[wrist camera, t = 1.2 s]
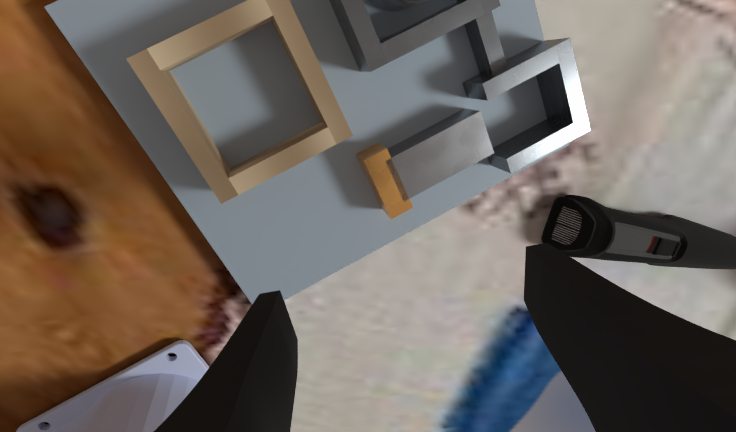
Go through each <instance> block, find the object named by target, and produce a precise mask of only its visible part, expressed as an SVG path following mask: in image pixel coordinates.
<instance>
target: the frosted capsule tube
mask: <svg viewBox="0 0 736 432" xmlns="http://www.w3.org/2000/svg"><path fill="white" fill-rule="evenodd" d="M370 1H371V2H372V3H373V4H374V5H376V6H377V7H379V8H381V9H383V10H387V11H401V10H404V9H407V8H409V7H411V6H414V5H416V4H419V3H421V2H423V1H426V0H370Z"/></svg>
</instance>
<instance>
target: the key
mask: <svg viewBox="0 0 736 432" xmlns="http://www.w3.org/2000/svg"><path fill="white" fill-rule="evenodd" d="M492 154H494V151H493V148H492V145H491V142H490V139H489V136H488V132H487V129H486V126H485V123H484V120H483V117H482V114H481V111H477V110H472V109H466V108H464V109H462V110H460V111H458V112H456V113H455V114H453V115H451V116H449V117H447V118H445V119H443V120H441V121H439V122H437V123H436V124H434V125H432V126H430V127H428V128H426V129H424V130H422V131H420V132H418V133H416V134H415V135H413V136H411V137H409V138H407V139H405V140H403V141H401V142H399V143H397V144H396V145H394V146H392V147H390V148H388V149H387V148H386V147H384V146H382V145H381V144H379V143H376V144H374V145H372V146H370V147H368V148H366V149H364V150H363V151H361V152H359V153H357V154H356V156H357V158H358V160H359V162H360V164H361V166H362V169H363V171H364V173H365V175H366V177H367V179H368V181H369V183H370V185H371V187H372V189H373V192H374V194H375V196H376V198H377V200H378V202H379V204H380V206H381V208H382V210H383V211H384V212H385V213H386V214H387V215H388V216H389V218H390V219H393V218H395V217H397V216H398V215H400V214H402V213H404V212H406V211H408V210H410V209H411V208H413V206H412V204H411V202H410V198H412V197H414V196H415V195H417V194H419V193H421V192H423V191H425V190H427V189H428V188H430V187H432V186H434V185H436V184H438V183H440V182H441V181H443V180H445V179H447V178H449V177H451V176H453V175H454V174H456V173H458V172H460V171H462V170H464V169H466V168H467V167H469V166H471V165H473V164H475V163H477V162H479V161H481V160H482V159H484V158H486V157H488V156H490V155H492Z"/></svg>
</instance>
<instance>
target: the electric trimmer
mask: <svg viewBox="0 0 736 432" xmlns="http://www.w3.org/2000/svg"><path fill="white" fill-rule="evenodd" d="M542 242H543V244H544V243H548V244H550V245H552V246H553V247H555V248H556V249H558V250H560V251H561V252H563V253H565V254H566V255H568V256H570V257H579V258H592V259H601V260H611V261H625V262H639V263H647V264H649V265H655V266H668V267H687V268H706V269H736V237H734V236H732V235H730V234H727V233H724V232H721V231H718V230H716V229H713V228H710V227H707V226H704V225H701V224H698V223H695V222H692V221H689V220H686V219H683V218H680V217H677V216H673V215H664V216H663V217H661V218H659V219H658V218H653V217H648V216H643V215H638V214H633V213H628V212H623V211H619V210H615V209H611V208H607V207H605V206H603V205H601V204H599V203H597V202H595V201H594V200H592V199H589V198H586V197H582V196H575V195H567V196H565V197H560V198H557V199H556V200H555V202H554V204H553V207H552V210H551V212H550V215H549V218H548V220H547V223H546V226H545V229H544V232H543V235H542Z"/></svg>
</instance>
